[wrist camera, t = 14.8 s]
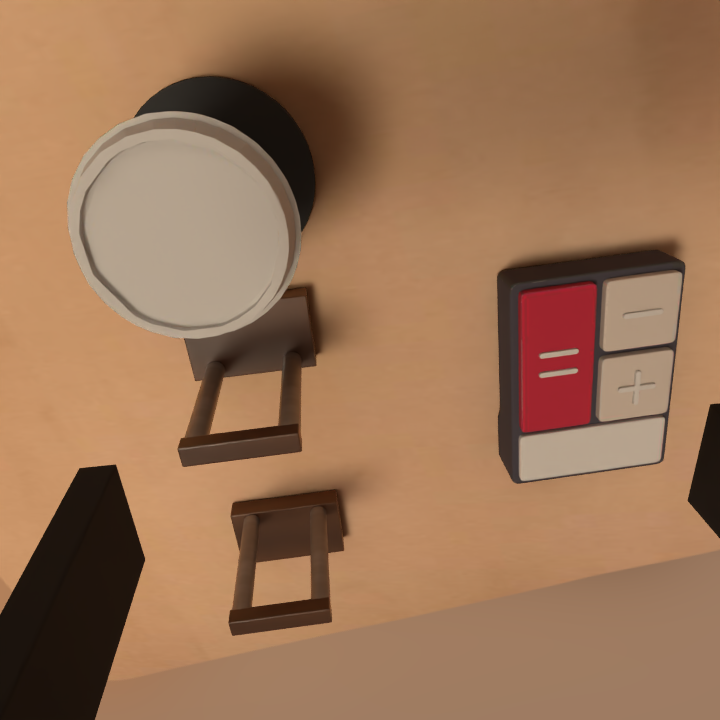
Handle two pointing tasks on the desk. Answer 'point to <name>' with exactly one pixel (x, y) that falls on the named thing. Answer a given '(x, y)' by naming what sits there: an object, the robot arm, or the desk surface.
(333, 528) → the bookends
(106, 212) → the disposable coffee cup
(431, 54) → the desk surface
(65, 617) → the robot arm
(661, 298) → the calculator
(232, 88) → the coaster
